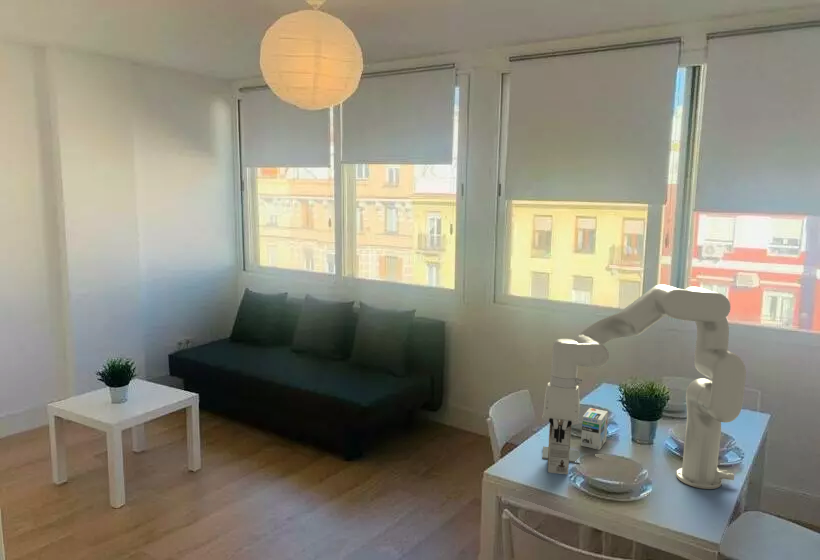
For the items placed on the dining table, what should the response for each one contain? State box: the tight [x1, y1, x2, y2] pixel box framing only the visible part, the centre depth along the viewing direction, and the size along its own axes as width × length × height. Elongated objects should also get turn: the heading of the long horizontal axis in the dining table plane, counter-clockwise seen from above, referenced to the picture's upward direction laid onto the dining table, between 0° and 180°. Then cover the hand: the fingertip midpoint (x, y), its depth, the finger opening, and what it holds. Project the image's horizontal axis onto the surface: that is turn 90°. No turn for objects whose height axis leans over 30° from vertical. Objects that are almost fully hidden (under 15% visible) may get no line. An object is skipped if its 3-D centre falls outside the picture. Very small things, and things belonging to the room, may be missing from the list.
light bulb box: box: [580, 407, 609, 451], centre depth 212 cm, size 11×7×11 cm, turn 150°
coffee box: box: [547, 419, 572, 475], centre depth 192 cm, size 9×6×16 cm
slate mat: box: [541, 446, 581, 464], centre depth 202 cm, size 12×9×1 cm
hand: (558, 440), depth 181 cm, fingers closed
